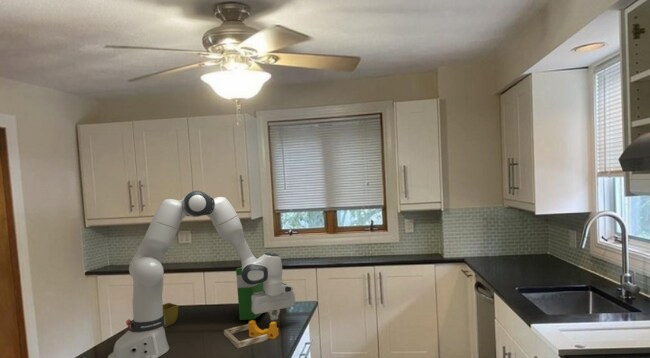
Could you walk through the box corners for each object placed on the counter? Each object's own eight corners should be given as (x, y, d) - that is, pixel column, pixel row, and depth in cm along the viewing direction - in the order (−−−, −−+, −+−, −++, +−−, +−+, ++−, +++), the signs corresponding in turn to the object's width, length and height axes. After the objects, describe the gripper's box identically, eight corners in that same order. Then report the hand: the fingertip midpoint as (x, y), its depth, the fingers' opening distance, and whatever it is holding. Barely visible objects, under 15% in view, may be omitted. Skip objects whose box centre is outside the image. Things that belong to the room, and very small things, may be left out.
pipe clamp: (278, 335, 173) (278, 320, 173) (274, 339, 169) (273, 324, 169) (254, 333, 176) (253, 318, 176) (249, 337, 172) (248, 322, 172)
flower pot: (163, 329, 186) (162, 310, 186) (153, 326, 191) (152, 307, 191) (179, 323, 193) (178, 305, 193) (169, 320, 198) (168, 302, 198)
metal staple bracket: (237, 348, 161) (236, 343, 161) (223, 334, 176) (223, 330, 176) (268, 339, 168) (267, 335, 168) (252, 327, 183) (252, 322, 183)
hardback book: (253, 310, 206) (250, 263, 209) (267, 309, 205) (263, 262, 207) (239, 319, 189) (236, 268, 191) (254, 319, 188) (250, 267, 190)
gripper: (253, 294, 171) (254, 326, 171) (296, 286, 181) (297, 316, 181) (248, 291, 176) (249, 322, 176) (290, 283, 187) (291, 313, 187)
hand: (274, 319), depth 179 cm, fingers closed
